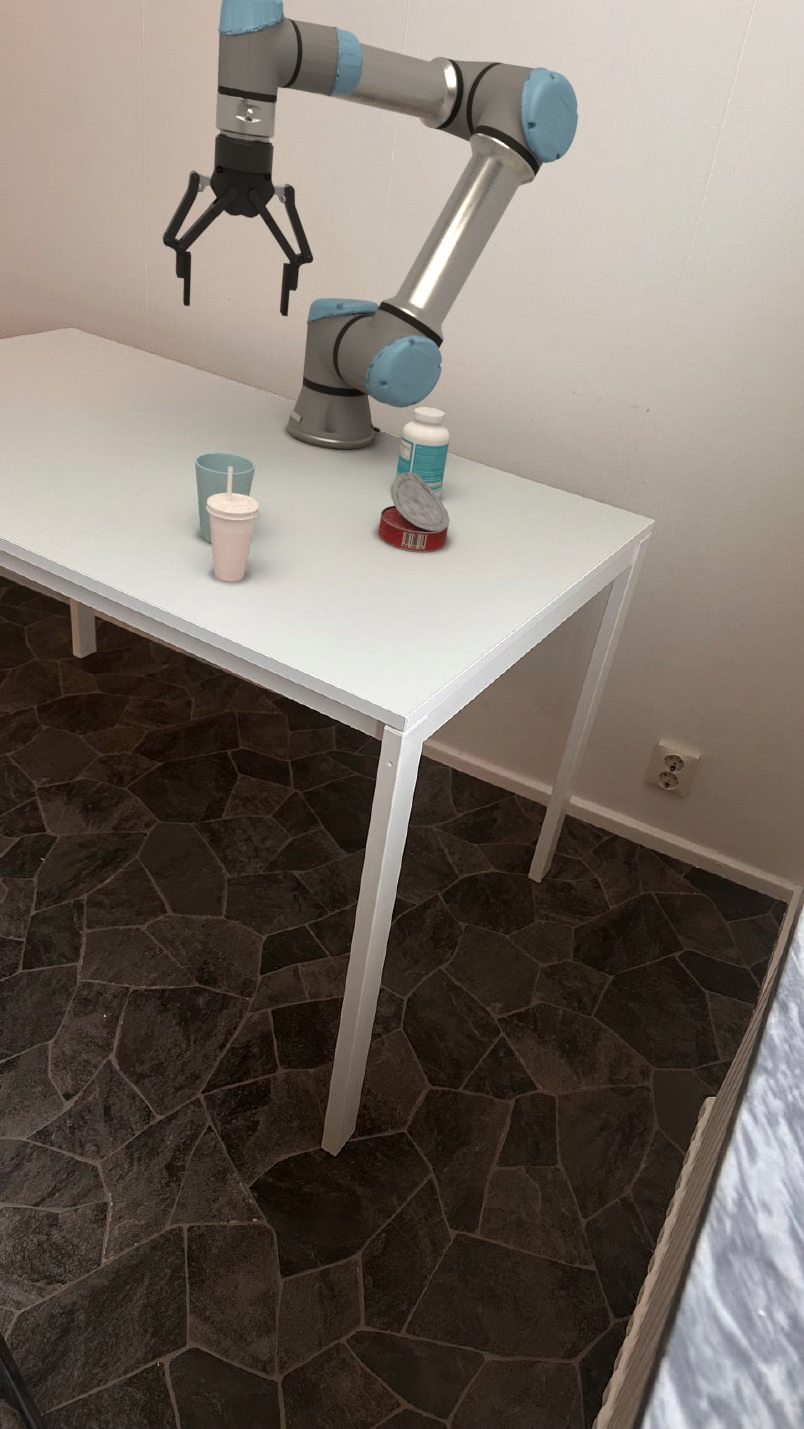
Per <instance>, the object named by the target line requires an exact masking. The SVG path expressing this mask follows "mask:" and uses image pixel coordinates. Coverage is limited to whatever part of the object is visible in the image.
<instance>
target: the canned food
mask: <svg viewBox="0 0 804 1429" xmlns="http://www.w3.org/2000/svg"><path fill="white" fill-rule="evenodd" d="M390 487H391V488H390V491H391V493H390V497H391V499H392V502H393V504H394V505H391V506H387V507H385V508H384V509H382V510H381V512H380V519H379V525H378V526H379V527H378V532H377V534H378V536H379V538H380V539H381V541H383V542H384V543H385V544H388V545H389V546H392V547H394V548H397V549H400V550H402V551H403V550H404V551H408V552H415V553H429V552H435V551H440V550H441V549H443V547H445V545H446V540H447V535H448V530H449V526H450V520H451V519H450V517H449V513H448V510H447V509H446V507H445V505H444V504H443V502H442V500H441V499H440V497H439V498H438V497H437V496H436V494H435V493H434V492H433V490H432V489H431V488H430V487H429V486H428V485H427V484H426V483H425V481H424V480H423V479H422V478H421V477H420V476H418V475H417V474H416V473H409V472H407V471H406V472H404V473H401V474H399V475H397V477H396V476H395V478H394V480H393V482H392V484H391V486H390Z"/></svg>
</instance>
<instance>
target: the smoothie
mask: <svg viewBox="0 0 804 1429" xmlns="http://www.w3.org/2000/svg"><path fill="white" fill-rule="evenodd" d="M232 476H233V467H228V481H227V493H220V494H215V495H212V496H210V497H209V498H208V499H207V506H206V509H207V511H208V512H209V518H210V530H211V542H212V543H211V551H212V564H213V565H212V566H213V576H214V577H215V578H216V579H218V580H220V581H222V582H223V581H224V582H229V583H230V582H231V583H234V582H239V581H242V580H243V579H244V578H245V573H246V569H247V564H248V558H249V554H250V548H251V543H252V538H253V534H254V529H255V524H256V519H257V517H258V516H259V515H260V503H259V502H258V501H257V499H255V498H253V497H251V496H246V495H242V494H236V493H232Z"/></svg>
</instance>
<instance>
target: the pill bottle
mask: <svg viewBox="0 0 804 1429" xmlns="http://www.w3.org/2000/svg"><path fill="white" fill-rule="evenodd" d="M444 420H445V412H444V411H442V410H441V409H438V408H435V407H428V406H418V407H416V408H414V411H413V420H412V421H409V422H407V423H406V424H405V425H404V426H403V428H402V430H401V431H402V432H401V439H400V446H399V452H398V461H397V468H396V474H395V478H396V477H397V475H399V474H401V473H404V472H406V471H407V472H409V473H416V474H417V475H418V476H420V477H421V478H422V479H423V480H424V481H425V483H426V484H427V485H428V486H429V487H430V488H431V489H432V490H433V492H434V493H435V494H436V496H437V497H438V498H439V499H440V497H441V492H442V487H443V480H444V475H445V469H446V462H447V457H448V451H449V443H450V438H451V436H450V432H449V430H448V429H447V428H446V427H445V426H444V425H442V424H443V423H444V422H445V421H444Z"/></svg>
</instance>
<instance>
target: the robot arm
mask: <svg viewBox="0 0 804 1429" xmlns="http://www.w3.org/2000/svg"><path fill="white" fill-rule="evenodd" d="M217 33H218V34H219V35H218V59H217V60H218V63H217V64H218V65H217V92H216V112H215V128H216V129H217V130H219V134H217V135H216V136H215V138H214V159H213V160H214V161H213V162H214V163H213V172H212V173H211V176H210V175H207V174H203V173H199V172H197V170H191V171H189V175H188V182H187V189H186V190H185V193H184V195H183V196H182V199H181V200H180V202H179V204H178V206H177V208H176V210H175V212H174V214H173V215H172V218H171V220H170V221H169V223H168V226H167V227H166V229H165V231H164V233H163V235H162V242H163V245H164V246H165V247H167V248H168V247H169V248H170V249H173V251H174V252H175V274H176V277H177V279H183V292H182V293H183V294H182V295H183V296H182V302H183V306H184V307H190V306H191V282H192V280H191V279H192V253H191V251H187V250H188V249H189V248H190V247H191V246H192V245H193V244H194V243H195V242H196V241H197V240H198V238H199V237H200V236H201V235H202V234H203V233H204V232H205V231H206V230H207V229H208V228H209V227H210V225H211V224H212V223H213V222H214V221H215V220H216V219H217V218H218V217H219V216H220V215H221V214H222V213H223V212H225V213H226V214H228V215H229V216H234V217H237V216H243V217H245V218H248V219H249V218H250V219H254V218H256V217H258V216H260V217H261V219H262V220H263V223H264V224H265V225H266V227H267V228H268V230H269V232H270V233H271V234H272V236H273V238H274V239H275V241H276V243H277V244H278V246H279V248H280V249H281V251H282V252H283V253H284V255H285V256H286V258H287V260H288V262H283V263H282V264H283V265H282V266H283V267H282V278H281V292H280V303H279V304H280V305H279V313H280V315H281V316H282V317H288V315H289V304H290V292H291V291H294V292H296V291H297V289H298V286H299V273H300V268H301V266H302V265H303V266H304V265H306V264H311V263H313V262H314V255H313V252H312V250H311V247H310V244H309V241H308V238H307V236H306V233H305V229H304V226H303V224H302V221H301V218H300V215H299V212H298V210H297V207H296V190H295V187H294V186H293V185H291V183H285V184H284V185H278V184H277V185H274V182H273V180H272V179H273V177H272V176H273V162H274V151H275V150H274V148H275V146H274V145H273V143H272V142H271V141H270V139H273V138H274V137H275V134H276V133H275V130H276V116H277V115H276V112H277V111H276V110H277V102H278V93H279V92H278V91H279V88H280V89H289V90H295V91H300V92H305V93H311V94H315V95H318V96H323V97H327V98H332V99H336V100H340V101H343V102H344V101H345V102H348V103H354V104H358V105H363V106H367V107H370V108H375V109H380V110H383V111H389V112H392V113H397V114H402V115H406V116H410V117H415V118H418V119H419V121H420V122H421V123H422V124H423V125H424V127H427V128H430V129H435V130H437V131H442V132H445V133H447V134H450V135H452V136H455V137H457V138H459V139H462V140H464V141H466V142H469V144H470V149H471V157H470V159H469V160H468V162H467V164H466V165H465V167H464V170H463V171H462V173H461V175H460V177H459V179H458V181H457V182H456V184H455V186H454V188H453V190H452V192H451V194H450V195H449V197H448V199H447V200H446V203H445V205H443V206H444V207H443V208H442V209H441V211H440V214H439V215H438V217H437V219H436V221H435V223H434V225H433V226H432V228H431V230H430V232H429V234H428V235H427V238H426V239H425V241H424V243H423V245H422V246H421V248H420V250H419V252H418V254H417V256H416V258H415V259H414V261H413V263H412V265H411V267H410V269H409V270H408V272H407V274H406V276H405V278H404V280H403V282H402V283H401V285H400V287H399V289H398V291H397V293H396V294H395V295H394V296H393V297H389V298H385V299H383V300H381V302H380V304H378V303H377V302H375V301H371V300H370V301H369V300H363V299H354V298H339V297H338V298H337V297H325V298H324V297H323V298H317V299H315V300H313V301H312V302H311V304H310V306H309V310H308V311H309V312H308V316H307V320H306V325H307V326H306V327H307V328H306V340H305V351H304V363H303V374H302V383H301V384H302V385H301V389H300V392H299V393H298V397H297V399H296V402H295V405H294V409H291V412H290V415H289V418H288V423H287V431H288V433H289V434H290V435H291V436H292V437H293V438H295V439H297V440H299V441H300V442H304V443H307V444H309V445H313V446H318V447H323V448H328V449H337V450H351V449H352V450H353V449H354V450H355V449H361V448H365V447H367V446H370V445H371V444H372V443H373V440H374V433H375V432H376V433H380V432H381V429H380V428H378V427H377V426H374V423H373V422H372V413H371V406H370V400H369V396H370V397H371V398H372V399H374V400H376V401H377V402H378V403H381V404H385V405H388V406H391V407H394V408H400V409H401V408H408V407H411V406H415V405H417V404H419V403H420V402H422V401H423V400H425V399H426V398H427V397H428V396H429V395H430V394H431V393H432V391H434V389H435V387H436V386H437V384H438V382H439V381H440V377H441V374H442V368H443V367H442V366H441V364H442V363H443V357H442V353H441V351H440V348H441V347H442V344H443V342H444V340H445V338H444V332H443V329H442V327H443V326H442V325H443V323H444V322H445V319H446V318H447V316H448V315H449V312H450V310H451V309H452V307H453V305H454V303H455V302H456V301H457V298H458V296H459V295H460V293H461V291H462V289H463V287H464V285H465V283H466V282H467V280H468V279H469V277H470V275H471V273H472V271H473V270H474V268H475V266H476V264H477V262H478V260H479V259H480V257H481V255H482V253H483V252H484V249H485V248H486V246H487V244H488V243H489V241H490V239H491V237H492V235H493V234H494V232H495V231H496V228H497V226H498V225H499V223H500V221H501V219H502V217H503V216H504V214H505V212H506V210H507V208H508V207H509V205H510V203H511V201H512V199H513V197H514V195H515V194H516V192H517V191H518V188H519V187H521V186H524V185H528V184H531V183H533V182H534V180H535V178H536V177H537V174H538V173H539V172H540V169H541V167H542V166H543V164H548V163H553V162H555V161H556V160H560V159H561V158H563V157H564V156H565V155H566V153H567V152H568V151H569V150H570V148H571V146H572V144H573V141H574V139H575V136H576V132H577V129H578V127H577V126H578V121H579V114H578V100H577V99H578V98H577V95H576V92H575V89H574V87H573V85H572V84H571V82H570V81H569V80H568V78H567V77H566V76H565V75H563V74H562V73H560V72H557V71H553V70H549V69H547V68H546V67H543V66H541V67H535V68H534V67H530V66H529V67H528V66H523V65H518V64H517V65H516V64H511V63H510V64H508V63H503V62H498V61H478V60H477V61H476V60H475V61H474V60H473V61H471V60H470V61H469V60H460V59H459V60H457V59H450V58H447V57H443V56H436V57H434V58H432V59H431V60H429V61H428V60H425V59H420V58H417V57H414V56H410V55H407V54H403V53H399V52H396V51H392V50H389V49H384V48H380V47H377V46H374V45H369V44H366V43H362V42H360V40H359V39H358V37H357V36H356V35H355V34H354V33H353V32H351V31H350V30H349V31H348V30H345V29H341V28H339V27H338V26H330V25H324V24H319V23H313V22H307V21H302V20H295V19H291V18H289V17H287V16H285V13H284V2H283V0H221V5H220V15H219V24H218V31H217ZM208 186H209V187H210V189H211V190H212V193H213V194H214V195H215V198H214V200H213V201H212V202H211V203H210V204H209V206H208V207H207V208H206V209H205V211H204V212H203V213H202V214H201V215H200V216H199V217H198V218H197V220H195V221H194V223H192V225H191V226H190V227H189V228H188V230H186V231H185V233H184V234H182V236H181V237H179V239H178V238H177V235H178V234H179V232H180V230H181V228H182V227H183V224H184V222H185V220H186V218H187V217H188V214H189V213H190V210H191V208H192V207H193V205H194V203H195V201H196V199H197V197H198V194H199V193H203V192H204V191H205V188H206V187H208ZM274 196H277V198H278V201H279V203H281V204H283V205H284V208H285V212H286V215H287V217H288V220H289V223H290V226H291V229H292V231H293V232H292V233H293V235H294V237H295V241H296V243H297V245H298V248H299V253H296V252H295V250H294V249H293V247H292V246H291V244H290V243H289V241H288V239H287V238H286V235H285V234H284V233H283V231H282V229H281V228H280V227H279V225H278V223H277V222H276V220H275V219H274V217H273V216H272V214H271V212H270V211H269V209H268V207H267V205H268V204H269V202H270V201H271V200H272V199H273V197H274Z"/></svg>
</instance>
